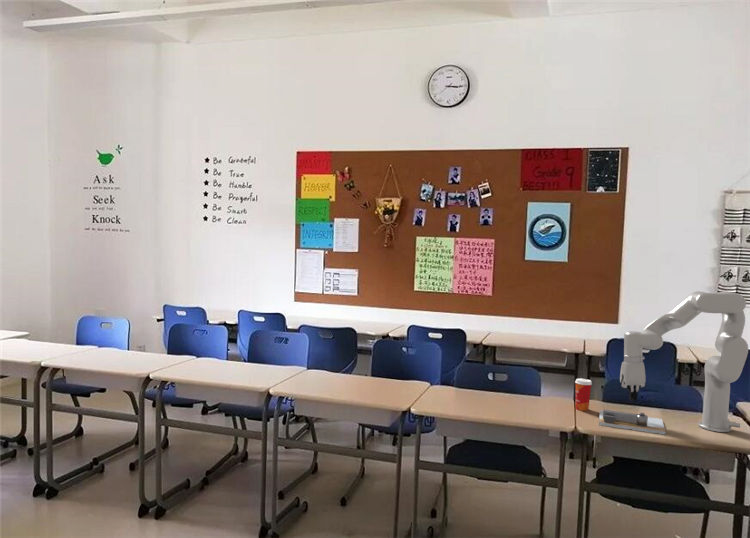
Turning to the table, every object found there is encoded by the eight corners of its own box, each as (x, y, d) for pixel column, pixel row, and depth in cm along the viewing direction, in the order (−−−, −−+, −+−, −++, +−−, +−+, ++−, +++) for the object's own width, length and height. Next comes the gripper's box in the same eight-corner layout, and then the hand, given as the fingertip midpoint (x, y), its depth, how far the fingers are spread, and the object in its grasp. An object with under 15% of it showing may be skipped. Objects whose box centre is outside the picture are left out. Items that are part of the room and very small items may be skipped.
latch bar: (647, 423, 255) (647, 412, 255) (647, 426, 251) (648, 415, 250) (603, 416, 262) (603, 406, 262) (602, 419, 258) (603, 409, 258)
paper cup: (575, 406, 284) (577, 377, 284) (591, 409, 280) (593, 380, 280) (571, 409, 278) (573, 380, 277) (588, 412, 274) (590, 383, 273)
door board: (661, 421, 264) (662, 412, 264) (665, 434, 246) (665, 425, 246) (599, 413, 274) (600, 404, 274) (598, 424, 256) (599, 415, 255)
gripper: (643, 357, 268) (643, 397, 268) (613, 358, 265) (612, 398, 266) (653, 360, 260) (653, 401, 261) (622, 361, 258) (622, 403, 259)
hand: (633, 400), depth 263 cm, fingers closed
